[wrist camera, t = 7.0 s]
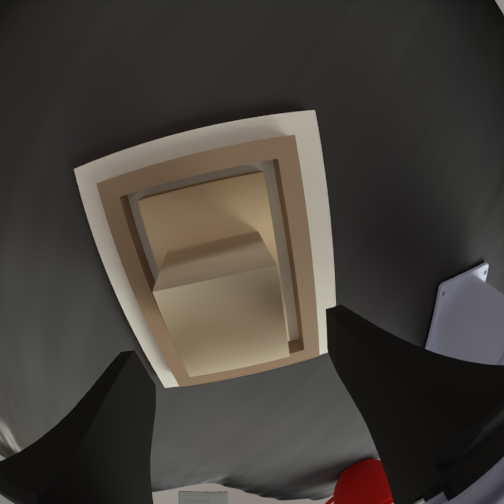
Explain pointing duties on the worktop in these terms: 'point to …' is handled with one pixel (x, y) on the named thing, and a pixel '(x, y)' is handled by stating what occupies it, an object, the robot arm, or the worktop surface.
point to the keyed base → (207, 168)
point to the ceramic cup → (363, 485)
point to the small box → (203, 497)
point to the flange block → (218, 272)
